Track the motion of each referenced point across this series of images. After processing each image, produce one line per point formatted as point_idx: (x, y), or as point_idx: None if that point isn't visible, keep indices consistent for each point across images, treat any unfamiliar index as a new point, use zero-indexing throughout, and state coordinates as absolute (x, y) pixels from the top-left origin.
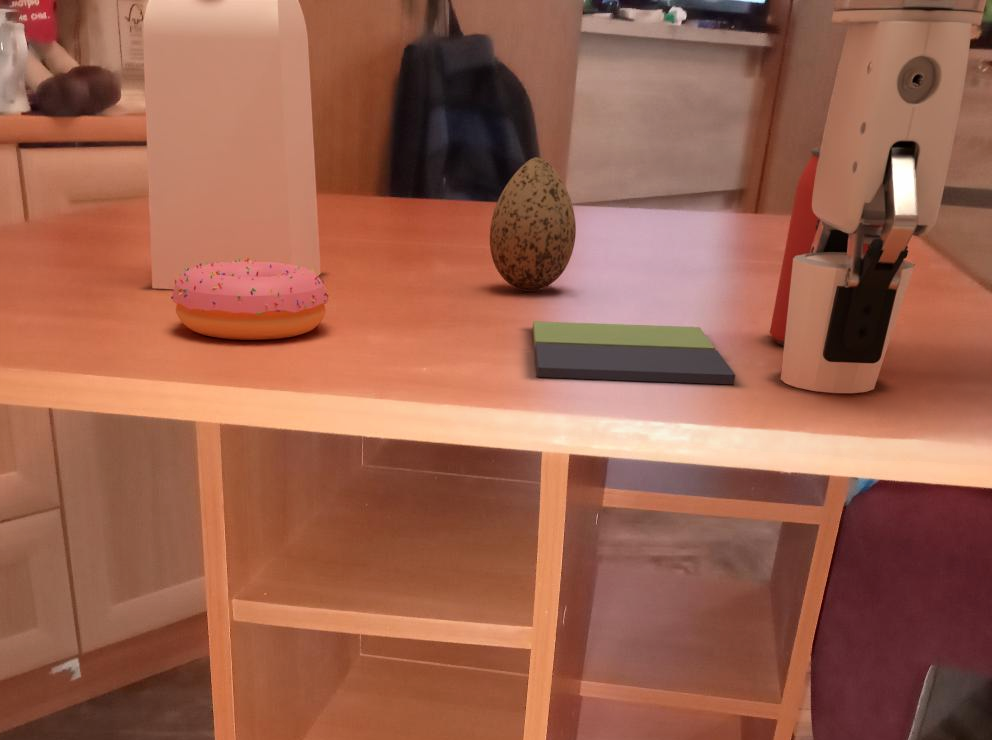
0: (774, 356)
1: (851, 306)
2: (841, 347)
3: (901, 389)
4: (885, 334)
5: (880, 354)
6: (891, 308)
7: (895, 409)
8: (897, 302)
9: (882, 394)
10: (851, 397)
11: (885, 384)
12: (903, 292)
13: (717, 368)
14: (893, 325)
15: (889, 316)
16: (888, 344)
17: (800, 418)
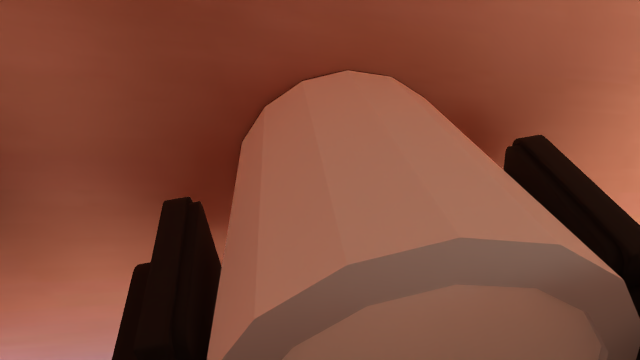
0: (84, 268)
1: None
2: None
3: (366, 2)
4: (576, 168)
5: (546, 141)
6: (618, 211)
7: (576, 44)
8: (519, 192)
9: (432, 58)
10: (471, 128)
11: (315, 39)
12: (522, 199)
13: None
14: (460, 143)
15: (605, 197)
16: (432, 116)
17: (632, 213)
